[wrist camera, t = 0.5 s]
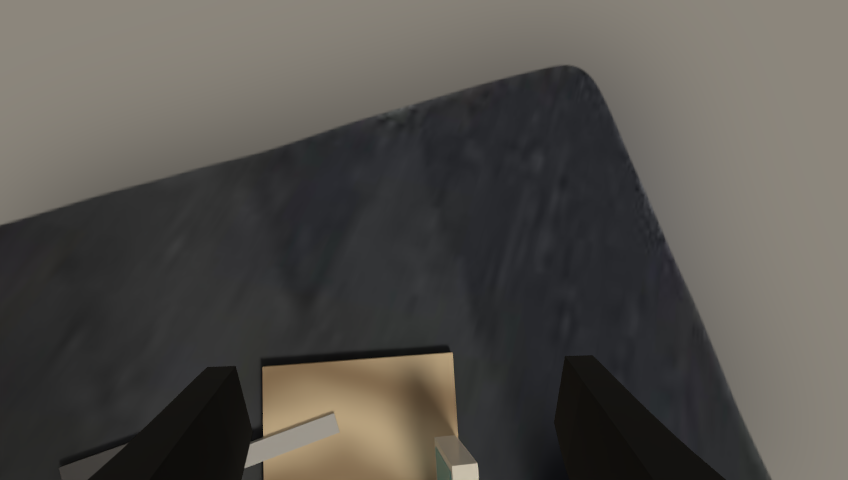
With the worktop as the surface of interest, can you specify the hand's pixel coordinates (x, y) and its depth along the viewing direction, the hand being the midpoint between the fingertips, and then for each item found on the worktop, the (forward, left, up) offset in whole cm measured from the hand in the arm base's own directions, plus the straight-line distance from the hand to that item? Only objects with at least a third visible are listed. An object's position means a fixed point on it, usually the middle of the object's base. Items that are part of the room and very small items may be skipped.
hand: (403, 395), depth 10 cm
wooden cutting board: (-11, +1, -26) cm, 28 cm away
